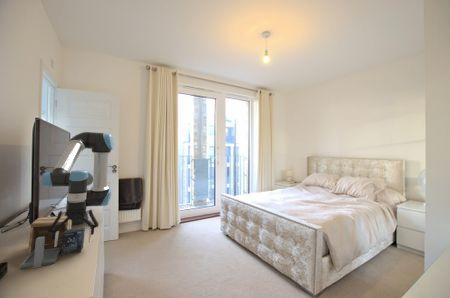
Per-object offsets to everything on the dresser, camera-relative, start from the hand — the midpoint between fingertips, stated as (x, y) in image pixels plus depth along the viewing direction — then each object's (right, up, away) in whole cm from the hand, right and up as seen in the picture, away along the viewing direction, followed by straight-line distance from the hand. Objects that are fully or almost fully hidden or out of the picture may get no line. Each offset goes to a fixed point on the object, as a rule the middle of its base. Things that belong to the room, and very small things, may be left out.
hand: (73, 243), depth 99 cm
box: (0, -4, 0) cm, 4 cm away
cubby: (-14, -3, +2) cm, 14 cm away
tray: (-8, -3, -9) cm, 12 cm away
